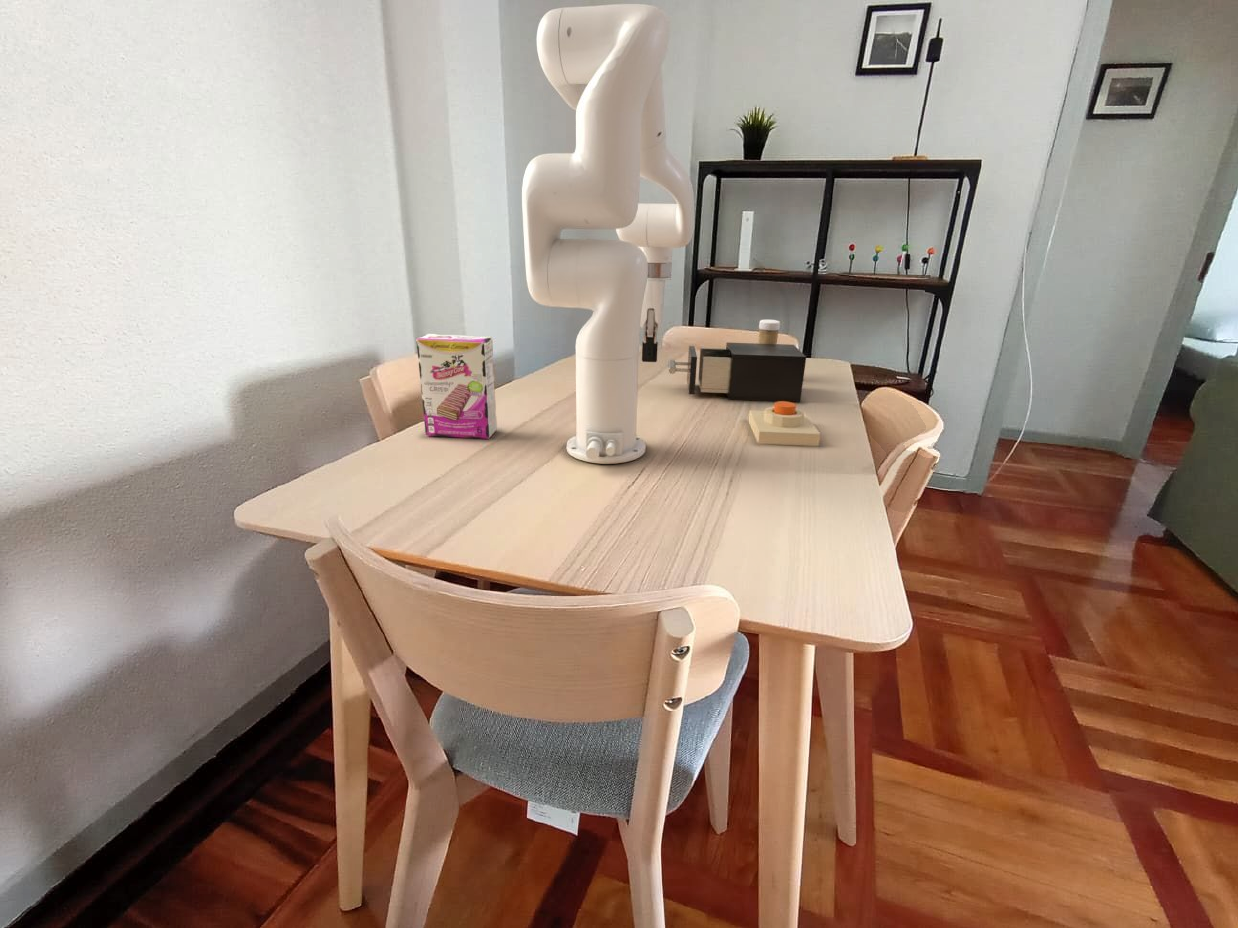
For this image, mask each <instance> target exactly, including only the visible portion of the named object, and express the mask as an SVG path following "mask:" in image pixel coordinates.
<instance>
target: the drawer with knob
mask: <svg viewBox="0 0 1238 928" xmlns="http://www.w3.org/2000/svg"><path fill="white" fill-rule="evenodd" d="M731 363H732V356H731V354H730V352H729V350H728V349H726V348H718V347H700V350H699V363H698V355H697V351H696V347H695V345H688V355H687V361H675V360H674V359H669V360H668V363H667V364H668V373H670V374H671V375H674V374H676V372H680V373H681V372H682V373H686V385H687V391H688V395H695V394H696V380H697V381H698V386H699V390H700V393H711V394H726V393H729V385H730V374H731ZM697 364H699V365H698V378H697ZM676 366H687V368H683V367H682V368H681V367H676Z"/></svg>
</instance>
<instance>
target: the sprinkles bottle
mask: <svg viewBox="0 0 1238 928" xmlns="http://www.w3.org/2000/svg"><path fill="white" fill-rule="evenodd" d="M780 327H781V321H780V320H776V319H760V320H759V325H758V330H759V333H758V339H757V340H758V341H757V343H758V344H778V337H779V330H780V329H781V328H780Z"/></svg>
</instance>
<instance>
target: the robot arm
mask: <svg viewBox="0 0 1238 928" xmlns="http://www.w3.org/2000/svg"><path fill="white" fill-rule="evenodd" d="M670 27H671V26H670V21H669V18H668V15H667V14H666V13H665V11H664V10H663V9H661V8H659V7H657V6H655V5H651V4H645V3H643V4H642V3H617V4H616V3H615V4H601V5H590V6H589V5H588V6H586V5H585V6H568V7H567V6H566V7H559V8H553V9H551V10H549V11H547V12H546V13H545V14H544V15H543V16H542V18H541V19H540V21H539V23H538V26H537V31H536V51H537V56H538V60H539V64H540V67H541V69H542V71H543V74H544V75H545V78H546V79H547V80H548V82H549V83H550V84H551V86H552V87H553V88H554V89H555V90H556V92H557V94H559V96H560V97H561V98H562V99H563V101H564V102H565V103H566V105H568V106H569V107H570V108H571V109H573V110H574V111H575V149H574V152H572V153H571V152H564V153H563V152H553V153H552V152H551V153H548V152H547V153H543V154H539V155H536V156H535V157H533V158H532V159H531V160H530V161H529V163H528V164H527V166H526V168H525V171H524V175H523V177H522V185H521V210H522V229H523V243H524V244H523V245H524V264H525V265H524V267H525V278H526V285H527V289H528V292H529V295H530V296H531V299H533V301H534V302H536V303H537V304H539V305H541V306H545V307H555V308H571V309H584V310H590V311H592V314H591V316H590V317H589V319H588V320H587V321H586V322H585V324H584V325H582V326H581V328H580V330H579V332H578V334H577V336H576V340H575V413H576V414H575V418H576V419H575V423H576V425H575V426H576V427H575V429H576V431H575V432H576V434H575V435H574V436H572V437H570V438H569V439H568V440H567V442H566V452H567V453H568V454H569V456H571V457H573V458H574V459H577V460H579V461H583V462H586V463H592V464H602V465H612V464H615V465H616V464H623V463H627V462H632V461H635V460H637V459H639V458H641V457H642V456H644V454H645V453H646V446H647V445H646V442H645V441H644V440H643V439H642V438H640V437H639V436H637V425H638V423H637V422H638V420H637V419H638V393H639V390H638V389H639V361H640V360H639V359H640V333H641V329H643V341H642V344H641V347H642V348H641V361H642V362H643V363H657V362H658V347H659V346H658V345H659V341H658V331H659V330H661V328H662V320H663V314H664V305H665V289H666V288H665V286H666V281H671V280H672V265H673V249H674V248H676V249H679V248H684V247H686V246H687V245H689V243H690V242H692V239H693V236H694V231H695V192H694V187H693V184H692V180H691V178H690V176H689V174H688V172H687V171H686V170H685V167H684V166H683V165H682V163H681V162H680V161H679V160H678V158H676V156H675V155H674V154H673V153H672V152H671V151H670V150H669V149H668V147H667V139H666V118H665V98H664V81H663V68H662V66H663V64H664V61H665V58H666V56H667V52H668V49H669V43H670V36H671V35H670V31H671V29H670ZM641 178H643V179H645V180H647V181H649V182H651V183H653V184H655V185H657V186H659V187H660V188H663V189H664V190H665V191H667V193H669V194H670V195H671V197H673V199H674V200H675V202H676V203H639V200H640V181H641V180H640V179H641ZM563 230H615V232H616V235H617V237H618V239H619V240H616V239H596V238H595V239H593V238H592V239H591V238H585V239H583V238H581V239H579V238H561V235H562V231H563Z"/></svg>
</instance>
